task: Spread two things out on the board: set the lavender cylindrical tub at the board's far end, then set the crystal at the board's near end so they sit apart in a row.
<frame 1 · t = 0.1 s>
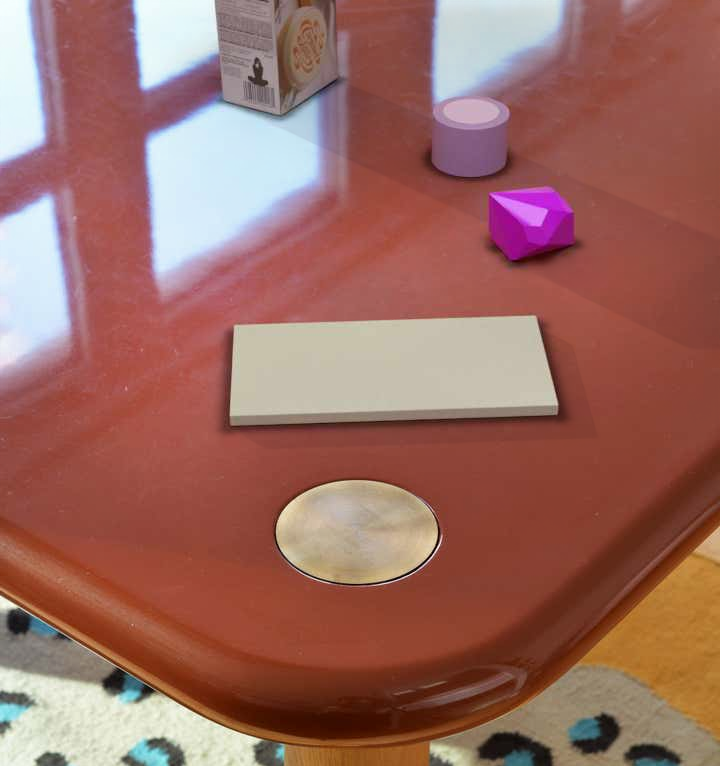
crystal: (529, 250, 98), on the table
cookie box: (281, 92, 118), on the table
lavender cylindrical tub: (468, 159, 108), on the table
board: (389, 373, 87), on the table
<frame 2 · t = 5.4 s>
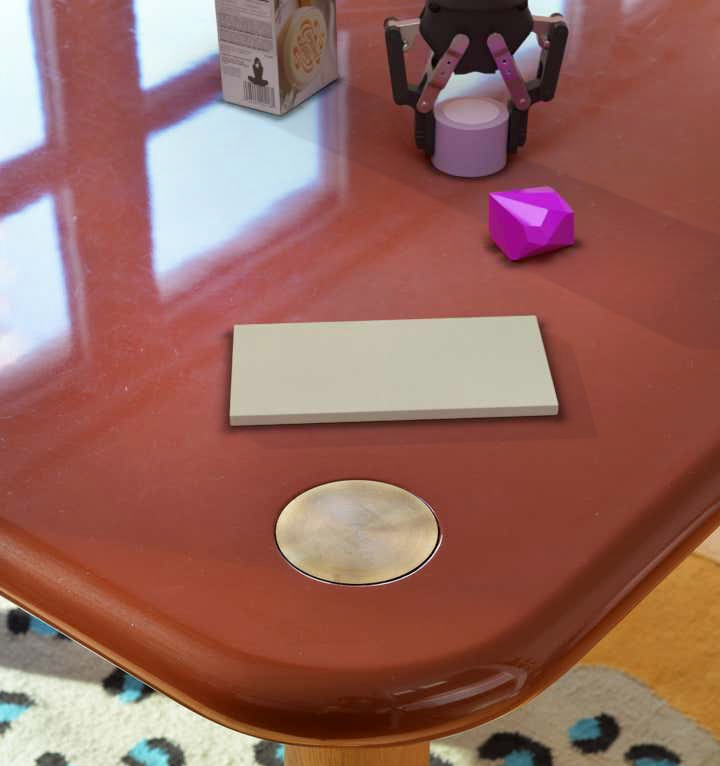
hand: (469, 150, 108), 1 cm above the table, tool pointing down, fingers closed on lavender cylindrical tub, 6 cm apart
lavender cylindrical tub: (468, 159, 108), on the table, touching gripper
everything else where it was.
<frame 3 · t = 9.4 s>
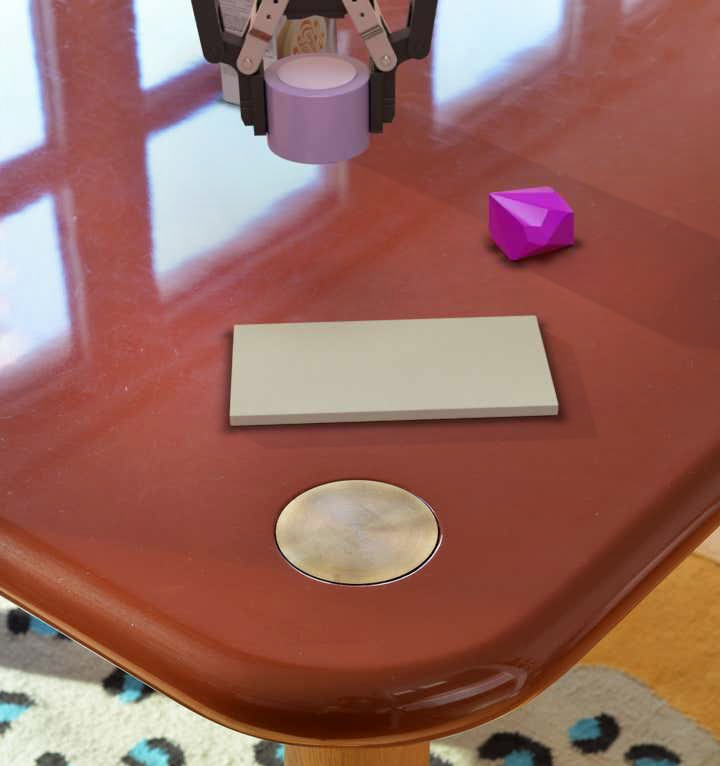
hand: (318, 128, 78), 16 cm above the table, tool pointing down, fingers closed on lavender cylindrical tub, 6 cm apart
lavender cylindrical tub: (318, 140, 79), point 15 cm above the table, touching gripper
everything else where it was.
when the fingers open (2 cm above the table, at t = 13.2 s): lavender cylindrical tub stays where it is, resting on board.
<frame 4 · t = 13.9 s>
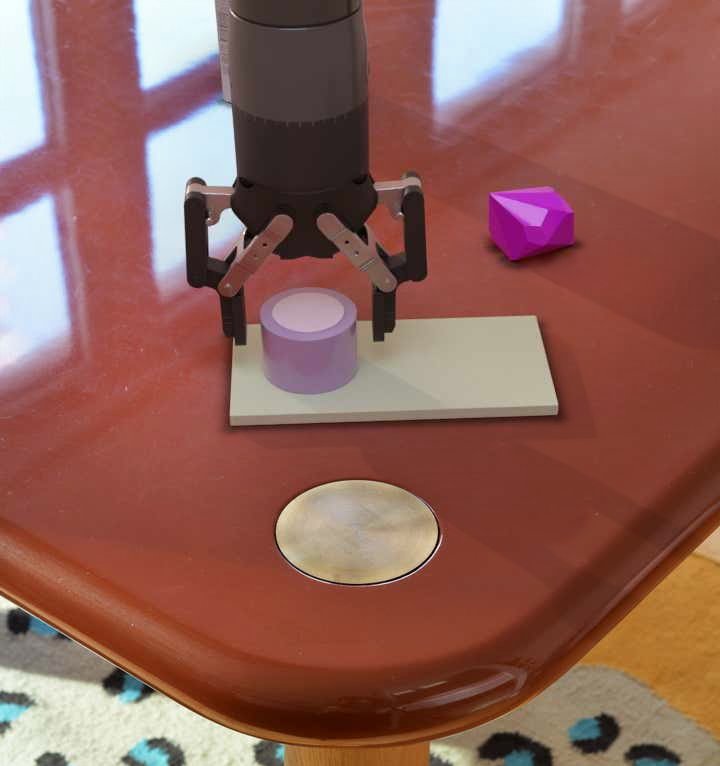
hand: (310, 336, 85), 3 cm above the table, tool pointing down, fingers open, 8 cm apart
lavender cylindrical tub: (310, 366, 86), point 1 cm above the table, touching board
everything else where it was.
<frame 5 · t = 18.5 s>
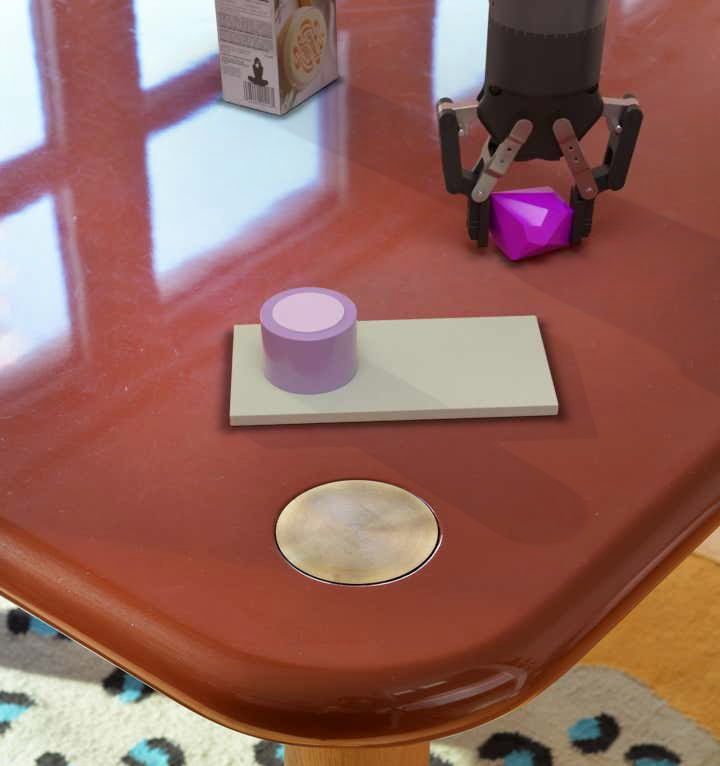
hand: (527, 240, 98), 1 cm above the table, tool pointing down, fingers closed on crystal, 6 cm apart
crystal: (529, 250, 98), on the table, touching gripper
everything else where it was.
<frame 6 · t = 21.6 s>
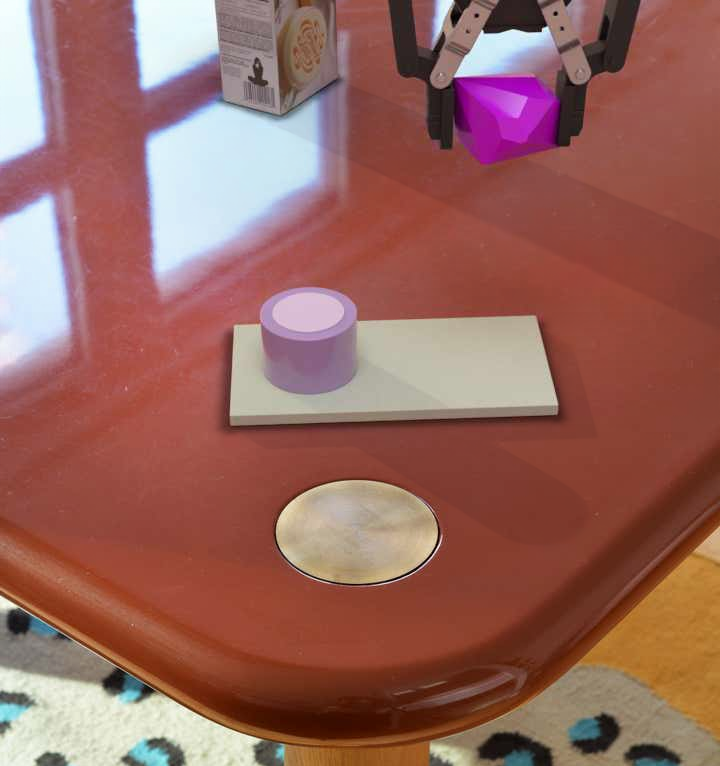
hand: (503, 141, 78), 15 cm above the table, tool pointing down, fingers closed on crystal, 6 cm apart
crystal: (506, 154, 78), point 14 cm above the table, touching gripper
everything else where it was.
when the fingers open (1 cm above the table, at t = 25.2 s): crystal stays where it is, resting on board.
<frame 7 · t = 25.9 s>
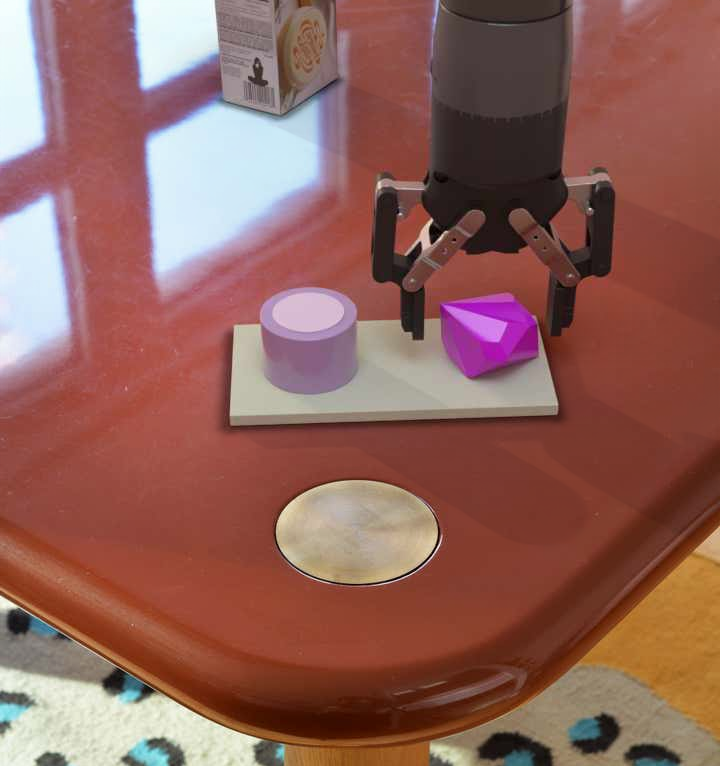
hand: (485, 331, 85), 3 cm above the table, tool pointing down, fingers open, 8 cm apart
crystal: (488, 364, 86), point 1 cm above the table, touching board
everything else where it was.
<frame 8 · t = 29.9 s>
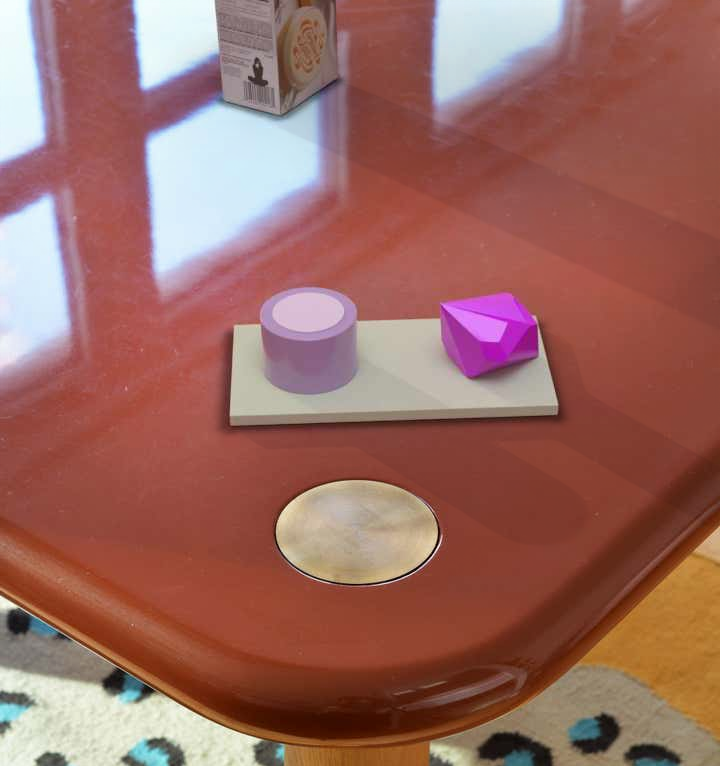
nothing on the table moved.
at the end: lavender cylindrical tub inside the target area on the board (0.3 cm from its centre), point 0.8 cm above the board's base; crystal inside the target area on the board (0.4 cm from its centre), point 0.6 cm above the board's base; lavender cylindrical tub tilted 0° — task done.
